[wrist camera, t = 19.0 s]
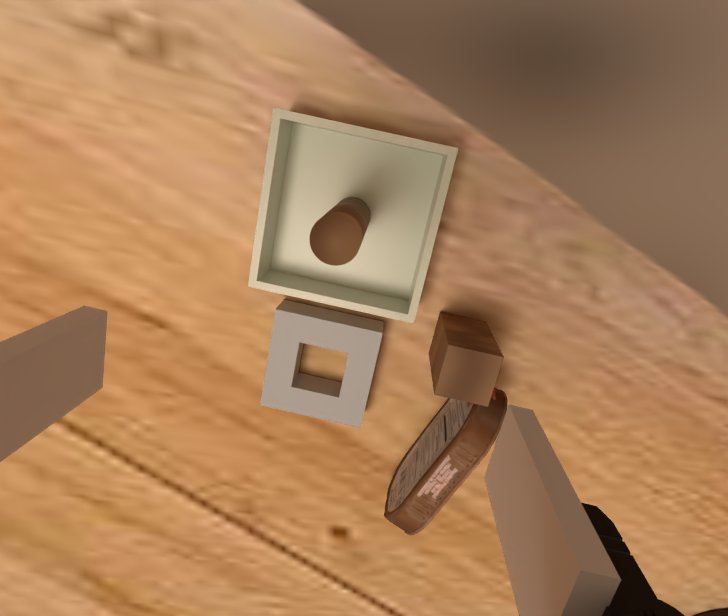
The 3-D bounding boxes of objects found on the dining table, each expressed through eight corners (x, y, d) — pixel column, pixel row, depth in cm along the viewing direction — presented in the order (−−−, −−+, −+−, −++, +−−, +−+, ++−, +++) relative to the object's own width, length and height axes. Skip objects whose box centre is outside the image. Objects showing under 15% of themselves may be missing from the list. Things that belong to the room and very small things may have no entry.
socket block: (384, 321, 43) (382, 333, 40) (363, 411, 46) (360, 427, 43) (284, 299, 43) (275, 309, 40) (268, 389, 46) (260, 405, 43)
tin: (407, 493, 48) (407, 560, 40) (380, 477, 48) (375, 541, 40) (500, 375, 44) (522, 424, 36) (471, 357, 43) (486, 402, 35)
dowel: (373, 201, 39) (365, 220, 28) (366, 237, 40) (355, 270, 29) (337, 193, 39) (314, 209, 28) (330, 229, 40) (305, 259, 29)
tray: (452, 149, 38) (458, 148, 34) (412, 306, 42) (413, 323, 38) (288, 113, 39) (273, 107, 34) (263, 273, 43) (248, 286, 38)
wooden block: (485, 321, 42) (503, 357, 35) (472, 363, 43) (488, 406, 36) (440, 311, 42) (448, 344, 35) (428, 353, 44) (434, 394, 36)
